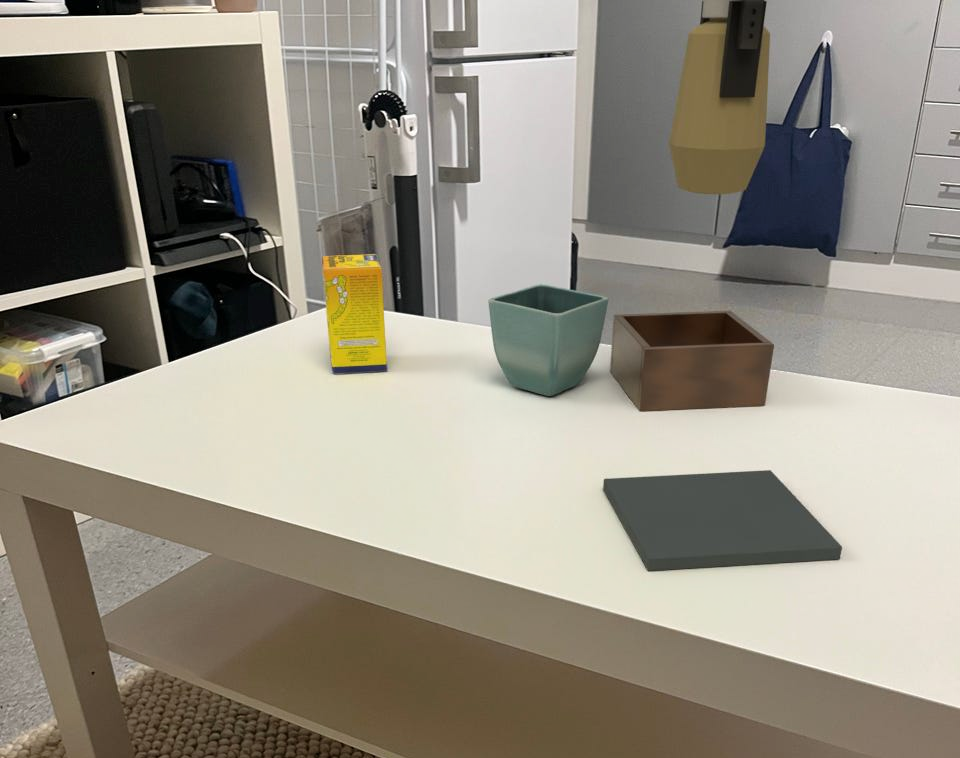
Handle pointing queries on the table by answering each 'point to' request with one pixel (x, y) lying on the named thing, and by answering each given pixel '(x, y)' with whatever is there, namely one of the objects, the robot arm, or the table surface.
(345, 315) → the supplement box
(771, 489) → the mat
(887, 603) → the table surface
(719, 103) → the squeeze bottle
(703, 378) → the box
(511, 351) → the flower pot
